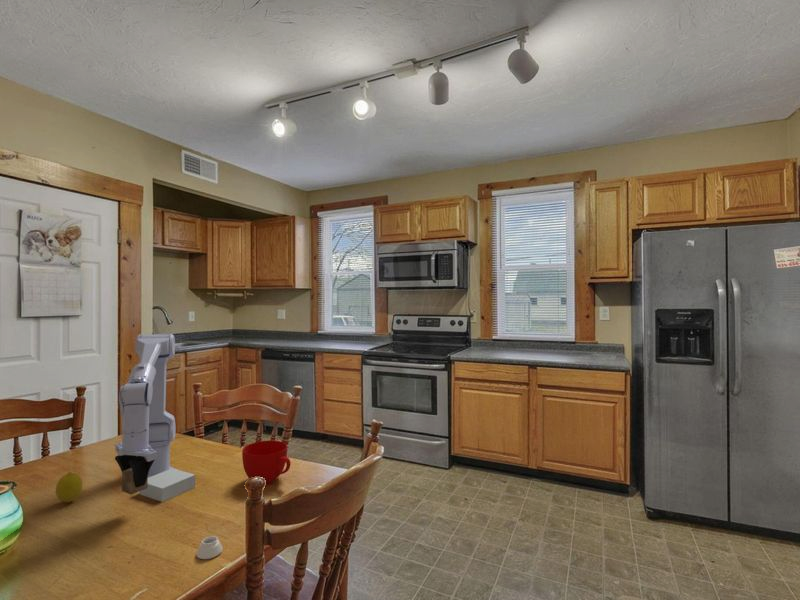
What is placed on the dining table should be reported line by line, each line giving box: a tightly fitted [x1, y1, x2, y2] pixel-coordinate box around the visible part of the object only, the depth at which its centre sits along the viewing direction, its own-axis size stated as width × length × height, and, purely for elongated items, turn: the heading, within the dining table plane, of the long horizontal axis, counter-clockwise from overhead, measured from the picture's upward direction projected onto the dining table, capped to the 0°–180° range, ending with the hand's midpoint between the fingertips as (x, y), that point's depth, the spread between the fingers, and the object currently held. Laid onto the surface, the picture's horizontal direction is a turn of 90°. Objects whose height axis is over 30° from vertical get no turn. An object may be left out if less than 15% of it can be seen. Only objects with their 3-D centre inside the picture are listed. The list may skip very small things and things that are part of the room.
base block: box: [138, 467, 196, 503], centre depth 117 cm, size 10×10×4 cm
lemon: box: [55, 471, 83, 504], centre depth 110 cm, size 6×6×8 cm
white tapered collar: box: [196, 535, 224, 560], centre depth 89 cm, size 5×3×5 cm
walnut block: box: [121, 468, 148, 495], centre depth 105 cm, size 4×4×5 cm
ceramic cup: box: [241, 440, 292, 486], centre depth 124 cm, size 13×17×10 cm
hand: (134, 483), depth 105 cm, fingers closed on walnut block, 4 cm apart
